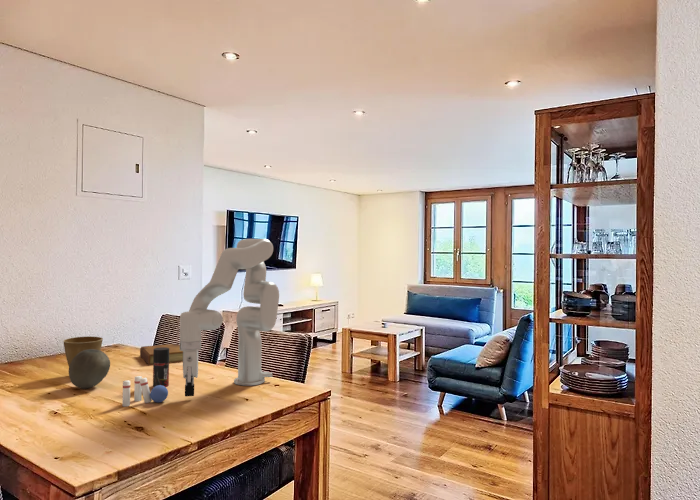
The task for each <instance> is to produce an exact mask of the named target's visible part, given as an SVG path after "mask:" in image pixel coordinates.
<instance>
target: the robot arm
mask: <svg viewBox="0 0 700 500" xmlns="http://www.w3.org/2000/svg"><path fill="white" fill-rule="evenodd" d="M273 252H274V245H273V243H272V242H271V241H270V240H269V239H268V238H267V239H266V238H244V239H243V238H242V239H241V240H239V241H238V242H237V244H236V247H228V248H225V249H224V250H223V251H222V252H221V254H220V256H219V258H218V260H217V263H216V266H215V268H214V271H213V274H212V275H211V278H210V281H209V282H208V283H206V285H204V286H203V287H202V289H201V290H200V291H199V292H198V293H197V294H196V295H195V297H194V299H192V303H191V305H190V307H189V310H188V311H183V312H181V314H180V315H179V316H180V317H179V345H180V349H179V350H180V351H183V362H182V375H183V377H182V378H183V379H184V380H185V385H184V397H194V396H195V380H194V379H196V378H198V376H199V351H200V350H202V331H213V330H217V329H218V328H220V327H221V326H222V324H223V322H224V321H223V320H224V317H223V315H222V313H220V312H219V311H217V310H215V309H208V306H209V305H210V304H211V303H212V302H213V300H215V299H216V298H218V297H220V296H222V295H223V294H226V293H227V292H229V291H230V290H231V289H232V287H233V285H234V281H235V279H236V276H237V274H238V272H239V270H245V278H244V285H243V295H242V296H243V299H244V300H245V302H247V303H249V304H256V305H258V304H259V305H260V306H251V305H250V306H249V305H248V306H247V305H246V306H244V307H241V308H240V309H239V310H238V311H237V314H236V315H235V316H236V317H235V319H236V326H237V332H238V333H237V335H238V347H237V348H238V349H237V353H238V354H237V358H238V362H237V377H236V378H234V379H233V384H235V385H237V386H238V385H239V386H242V387H243V386H244V387H245V386H257V385H262V384H264V383H265V381H266V378H272V377H273V372H272V371H271V372H269V371H263V370H262V343H263V342H262V336H261V335H262V334H261V332H269V331H271V330H273V328H274V327H275V325H276V323H277V317H278V309H279V301H280V290H279V288H278V286H277V284H276V283H275V282H272V281H266V279H267V267H266V264H265V261H267V260H269V259H270V258H271V257H272V255H273Z"/></svg>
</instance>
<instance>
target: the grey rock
mask: <svg viewBox="0 0 700 500" xmlns="http://www.w3.org/2000/svg"><path fill="white" fill-rule="evenodd" d="M110 368H111V360H110V358H109V356H108V355H107V354H106V353H105V352H104V351H102V350H101V351H100V350H96V349H87V350H84V351H81V352H79V353H78V354H77V355H76V356H75V357H74V358H73V360H72V361H71V364H70V366H68V377H69V380H70V382H71V384H72V385H74V386H75V387H77V388H79V389H82V390H84V389H85V390H86V389H91V388H93V387H96V386H97V385H99V384H100V383H101V382H102V381H103V380H104V379H105V378H106V376H107V375H108V373H109V372H110Z"/></svg>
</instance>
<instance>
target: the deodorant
mask: <svg viewBox="0 0 700 500" xmlns="http://www.w3.org/2000/svg"><path fill="white" fill-rule="evenodd" d="M152 366H153V367H152V369H153V370H152V374H153V375H152V388H154V387H155V386H158V385H162V386H165V387H166V388H167V387H169V385H170V383H169V381H170V380H169V379H170V363H169V348H166V347H161V348H155V349H154V352H153V365H152Z"/></svg>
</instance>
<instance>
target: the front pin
mask: <svg viewBox="0 0 700 500" xmlns="http://www.w3.org/2000/svg"><path fill="white" fill-rule="evenodd" d="M140 385H141V389H142V396H143V402H144V404H149V403H150V402H152V401H153V400H152V399H151V397H150V392H151V390H150V386H149V382H148V377H142V379H140Z"/></svg>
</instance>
